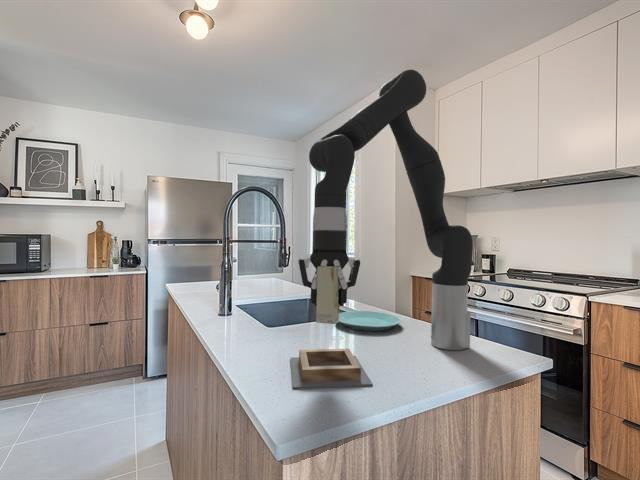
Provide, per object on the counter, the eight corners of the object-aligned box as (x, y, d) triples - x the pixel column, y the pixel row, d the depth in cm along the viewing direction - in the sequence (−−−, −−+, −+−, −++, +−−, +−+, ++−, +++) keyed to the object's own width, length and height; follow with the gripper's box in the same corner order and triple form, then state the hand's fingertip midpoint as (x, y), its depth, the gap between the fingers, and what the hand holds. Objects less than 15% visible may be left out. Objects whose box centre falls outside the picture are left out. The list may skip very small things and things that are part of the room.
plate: (363, 314, 130) (363, 307, 130) (414, 326, 114) (414, 318, 114) (321, 324, 115) (321, 316, 115) (372, 339, 99) (372, 330, 99)
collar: (348, 358, 81) (349, 348, 81) (360, 380, 69) (360, 367, 69) (299, 360, 80) (299, 349, 80) (302, 382, 68) (302, 369, 68)
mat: (355, 357, 83) (355, 355, 83) (372, 385, 68) (372, 383, 68) (290, 359, 82) (290, 357, 82) (292, 389, 66) (292, 387, 66)
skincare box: (335, 325, 71) (336, 267, 71) (315, 323, 72) (316, 266, 72) (339, 318, 77) (341, 264, 77) (321, 316, 78) (322, 264, 78)
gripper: (357, 229, 79) (356, 302, 79) (296, 228, 77) (295, 302, 77) (365, 229, 71) (364, 309, 72) (298, 227, 70) (296, 309, 70)
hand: (328, 305), depth 75 cm, fingers closed on skincare box, 5 cm apart
